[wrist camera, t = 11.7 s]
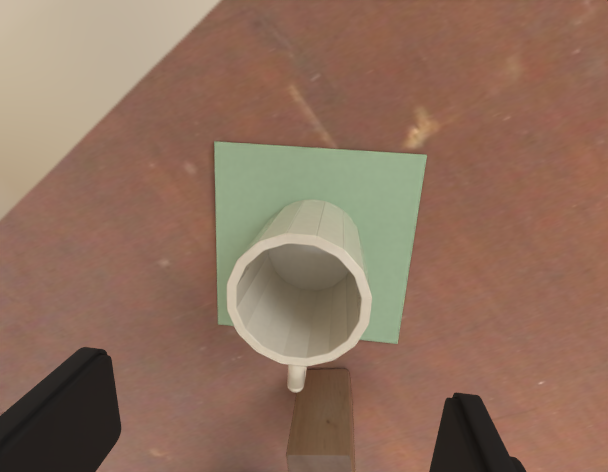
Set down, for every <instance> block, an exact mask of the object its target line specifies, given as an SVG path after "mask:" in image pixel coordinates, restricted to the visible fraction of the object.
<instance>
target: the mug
mask: <svg viewBox="0 0 608 472" xmlns="http://www.w3.org/2000/svg"><path fill="white" fill-rule="evenodd" d="M371 305H372V294H371V288H370V282H369V277H368V271H367V266H366V260H365V254H364V249H363V244H362V241H361V237H360V233H359V231H358V228H357V226H356V225H355V223H354V221H353V220H352V219H351V217H350V216H349V215H348V214H347V213H346V212H345V211H343V210H342V209H341V208H339V207H337V206H336V205H334V204H331V203H329V202H326V201H322V200H316V199H307V200H301V201H297V202H294V203H291V204H289V205H287V206H285V207H284V208H282V209H281V210H280V211H279V212H278V213H277V214H276V215H275V216H274V217H272V218H271V219H270V220H269V222H268V223H267V224H266V225H265V227H264V228H263V229H262V230H261V231H260V233H259V234H258V235H257V236H256V238H255V239H254V240H253V241H252V243H251V244H250V245H249V246H248V247H247V249H246V250H245V251H244V252H243V254H242V255H241V256H240V257H239V258H238V260H237V261H236V264H235V266H234V268H233V270H232V273H231V275H230V277H229V279H228V281H227V311H228V313H229V315H230V317H231V320H232V322H233V324H234V326H235V329H236V331H237V333H238V334H239V335H240V336H241V337H242V338H243V339H244V340H245V341H246V342H247V343H248V344H249V345H250V346H251V347H252V348H253V349H254V350H255V351H257V353H260V354H262V355H264V356H266V357H268V358H270V359H272V360H274V361H276V362H278V363H281V364H288V376H287V386H288V388H289V390H290V391H292V392H294V393H297V392H300V391H301V390H302V389H303V387H304V383H305V377H306V370H307V366H312V365H317V364H321V363H326V362H330V361H333V360H335V359H337V358H338V357H340V356H341V355H343V354H344V353H345V352H347V351H348V350H350V349H351V348H353V347H354V346H355V345H356V344H357V342H358V341H359V339H360V337H361V336H362V334H363V333H364V331H365V330H366V328H367V326H368V325H369V321H370V313H371Z"/></svg>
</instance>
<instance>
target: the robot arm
mask: <svg viewBox="0 0 608 472" xmlns="http://www.w3.org/2000/svg"><path fill="white" fill-rule="evenodd" d="M120 433H121V422H120V415H119V408H118V401H117V394H116V387H115V381H114V374H113V367H112V360H111V357H110V356H108V355H107V352H106V351H105V350H103V349H96V348H88V347H83V348H81V349H79V350H78V351H76V352H75V353H74V354H73V355H72V356H70V357H69V358H68V359H67V360H66V361H65V362H63V363H62V364H61V365H60V366H59V367H57V368H56V369H55V370H54V371H53V372H52V373H50V374H49V375H48V376H47V377H46V378H45V379H43V380H42V381H41V382H40V383H39V384H37V385H36V386H35V387H34V388H33V389H32V390H30V391H29V392H28V393H27V394H26V395H24V396H23V397H22V398H21V399H20V400H19V401H17V402H16V403H15V404H14V405H13V406H11V407H10V408H9V409H8V410H7V411H6V412H4V413H3V414H2V415H1V416H0V472H95V471H96V470H97V469H98V467H99V466H100V465H101V463H102V462H103V460H104V459H105V458H106V456H107V455H108V453H109V452H110V451H111V449H112V448H113V446H114V445H115V444H116V442H117V440H118V438H119V436H120ZM429 472H526V470H525V468H524V467H523V465H522V464H521V462H520V461H519V460H518V459H517V458H515V457H510V456H509V454H508V452H507V450H506V448H505V446H504V444H503V442H502V440H501V438H500V436H499V434H498V432H497V430H496V428H495V426H494V424H493V422H492V420H491V418H490V416H489V414H488V411H487V409H486V407H485V405H484V403H483V401H482V400H481V398H480V397H479V396H478V395H471V394H463V393H454V395H453V397H452V398H447V399H446V401H445V405H444V409H443V414H442V418H441V422H440V427H439V431H438V436H437V440H436V444H435V449H434V453H433V458H432V462H431V466H430V471H429Z"/></svg>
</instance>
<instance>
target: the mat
mask: <svg viewBox="0 0 608 472" xmlns="http://www.w3.org/2000/svg"><path fill="white" fill-rule="evenodd" d="M214 153H215V203H216V253H217V303H218V324H219V325H229V326H234V324H233V322H232V320H231V317H230V315H229V313H228V311H227V281H228V279H229V277H230V275H231V273H232V270H233V268H234V266H235V264H236V261H237V260H238V258H239V257H240V256H241V255H242V254H243V252H244V251H245V250H246V249H247V247H248V246H249V245H250V244H251V243H252V241H253V240H254V239H255V238H256V236H257V235H258V234H259V233H260V231H261V230H262V229H263V228H264V227H265V225H266V224H267V223H268V222H269V220H270V219H271V218H272V217H274V216H275V215H276V214H277V213H278V212H279V211H280V210H281V209H282V208H284V207H285V206H287V205H289V204H291V203H294V202H297V201H301V200H307V199H316V200H322V201H326V202H329V203H331V204H334V205H336V206H337V207H339V208H341V209H342V210H343V211H345V212H346V213H347V214H348V215H349V216H350V217H351V219H352V220H353V221H354V223H355V225H356V226H357V228H358V231H359V233H360V237H361V241H362V244H363V249H364V254H365V260H366V266H367V271H368V277H369V282H370V288H371V294H372V305H371V313H370V321H369V325H368V326H367V328H366V330H365V331H364V333H363V334H362V336H361V337H360V339H359V340H367V341H376V342H385V343H394V344H397V343H398V337H399V330H400V324H401V318H402V311H403V305H404V298H405V292H406V286H407V279H408V273H409V266H410V260H411V254H412V247H413V241H414V235H415V228H416V222H417V215H418V209H419V203H420V196H421V190H422V183H423V177H424V171H425V164H426V158H427V155H423V154H408V153H392V152H376V151H360V150H344V149H328V148H312V147H296V146H280V145H264V144H248V143H232V142H214Z"/></svg>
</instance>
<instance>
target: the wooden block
mask: <svg viewBox="0 0 608 472" xmlns="http://www.w3.org/2000/svg"><path fill="white" fill-rule="evenodd" d="M286 457H287V464H288V470H289V472H355V449H354V423H353V403H352V392H351V380H350V373H349V372H348V370H347V369H315V370H306V377H305V383H304V387H303V389H302V390H301V391H300V392H297V395H296V400H295V406H294V412H293V418H292V423H291V429H290V435H289V441H288V446H287V452H286Z"/></svg>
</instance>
